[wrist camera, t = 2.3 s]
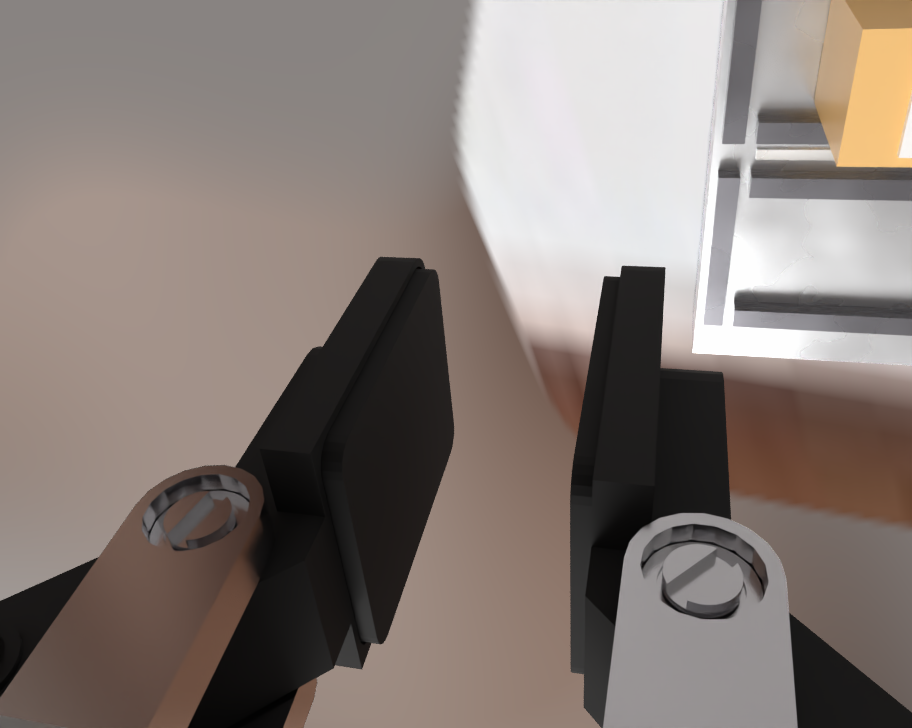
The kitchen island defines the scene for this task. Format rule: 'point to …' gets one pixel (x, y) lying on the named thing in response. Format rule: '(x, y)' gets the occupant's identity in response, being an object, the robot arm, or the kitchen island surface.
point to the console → (795, 209)
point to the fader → (867, 83)
